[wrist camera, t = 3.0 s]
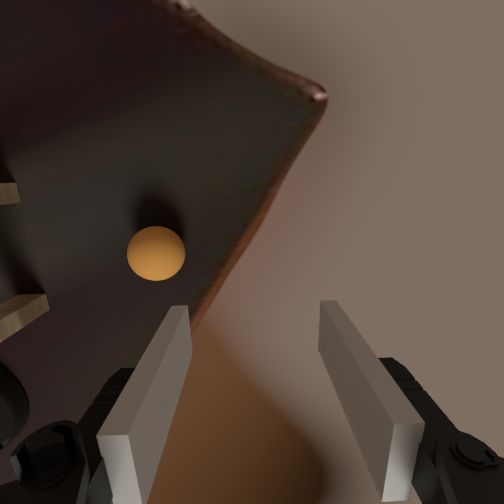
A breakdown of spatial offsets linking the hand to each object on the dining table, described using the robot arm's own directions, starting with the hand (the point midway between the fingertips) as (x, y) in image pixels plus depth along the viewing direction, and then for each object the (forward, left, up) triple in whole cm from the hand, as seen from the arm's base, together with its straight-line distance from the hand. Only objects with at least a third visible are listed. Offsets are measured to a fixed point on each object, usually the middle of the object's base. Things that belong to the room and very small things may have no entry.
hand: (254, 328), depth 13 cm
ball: (0, +10, -14) cm, 17 cm away
